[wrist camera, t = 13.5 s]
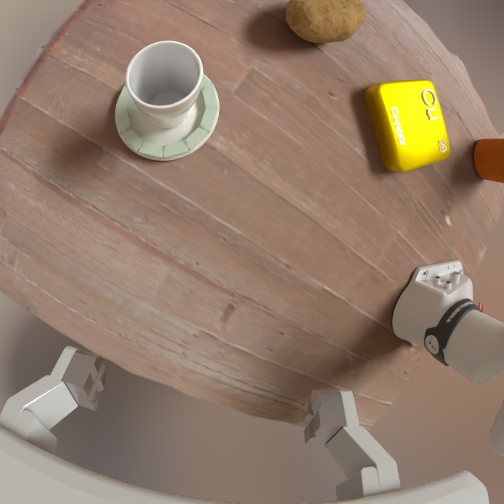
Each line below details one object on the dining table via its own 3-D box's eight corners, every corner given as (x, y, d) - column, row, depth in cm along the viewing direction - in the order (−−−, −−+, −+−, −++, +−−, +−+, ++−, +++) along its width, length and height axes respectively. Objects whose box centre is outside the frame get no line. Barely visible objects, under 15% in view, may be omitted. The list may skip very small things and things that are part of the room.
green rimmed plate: (207, 54, 34) (208, 50, 32) (228, 146, 38) (230, 144, 36) (108, 80, 32) (105, 76, 30) (127, 173, 36) (125, 173, 34)
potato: (360, 39, 38) (388, 23, 30) (297, 62, 37) (320, 43, 29) (330, -4, 34) (353, -25, 27) (263, 14, 34) (279, -12, 26)
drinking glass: (133, 109, 33) (108, 73, 19) (173, 77, 33) (172, 26, 19) (165, 144, 36) (156, 126, 21) (205, 111, 36) (220, 76, 22)
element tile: (359, 88, 40) (376, 81, 36) (417, 82, 42) (434, 78, 38) (383, 174, 45) (402, 175, 41) (437, 156, 47) (454, 157, 43)
